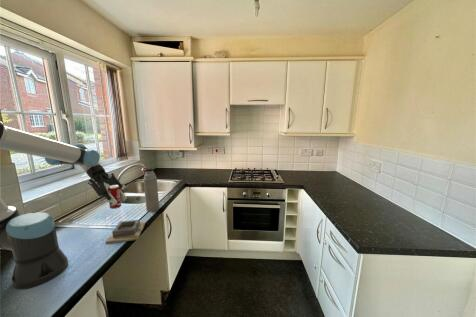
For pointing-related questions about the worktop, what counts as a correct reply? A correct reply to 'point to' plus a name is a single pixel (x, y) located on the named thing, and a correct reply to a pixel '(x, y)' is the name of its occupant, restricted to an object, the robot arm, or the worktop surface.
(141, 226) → the square socket dock
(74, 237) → the worktop surface
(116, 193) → the soda can
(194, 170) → the worktop surface
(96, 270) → the worktop surface
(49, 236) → the robot arm
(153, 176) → the thermos bottle
